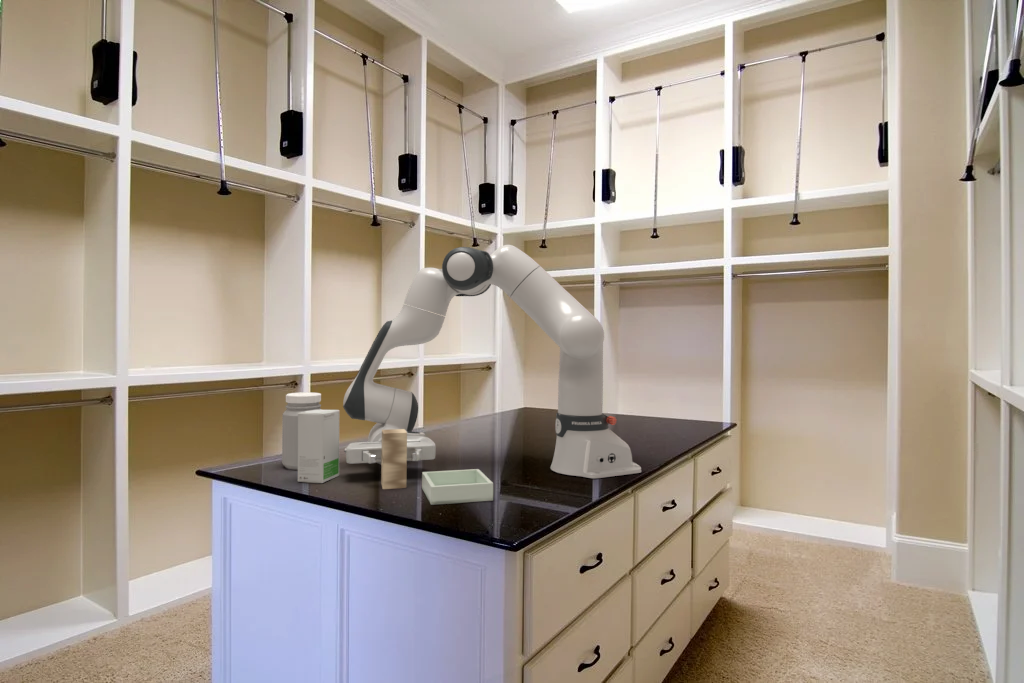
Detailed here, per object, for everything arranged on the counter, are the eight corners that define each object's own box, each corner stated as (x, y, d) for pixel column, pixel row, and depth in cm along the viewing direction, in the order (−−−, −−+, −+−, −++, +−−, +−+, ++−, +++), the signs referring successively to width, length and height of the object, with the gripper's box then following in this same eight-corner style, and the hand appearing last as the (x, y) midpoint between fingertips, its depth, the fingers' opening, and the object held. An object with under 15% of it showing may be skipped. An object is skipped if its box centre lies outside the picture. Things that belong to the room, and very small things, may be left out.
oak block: (403, 482, 131) (404, 429, 131) (406, 487, 126) (407, 432, 126) (381, 483, 130) (381, 429, 129) (382, 489, 125) (383, 433, 125)
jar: (291, 461, 150) (292, 391, 150) (329, 461, 150) (329, 392, 150) (275, 470, 140) (275, 395, 140) (315, 471, 140) (315, 396, 140)
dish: (478, 484, 130) (478, 468, 130) (493, 500, 118) (493, 483, 118) (421, 488, 126) (422, 472, 126) (431, 504, 114) (431, 487, 114)
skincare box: (321, 484, 128) (322, 413, 128) (294, 482, 129) (295, 412, 129) (340, 475, 136) (341, 409, 136) (314, 473, 138) (315, 407, 137)
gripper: (344, 435, 138) (345, 446, 125) (430, 432, 144) (439, 442, 131) (343, 461, 138) (344, 475, 125) (429, 457, 144) (439, 470, 131)
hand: (394, 458), depth 128 cm, fingers open, 8 cm apart
